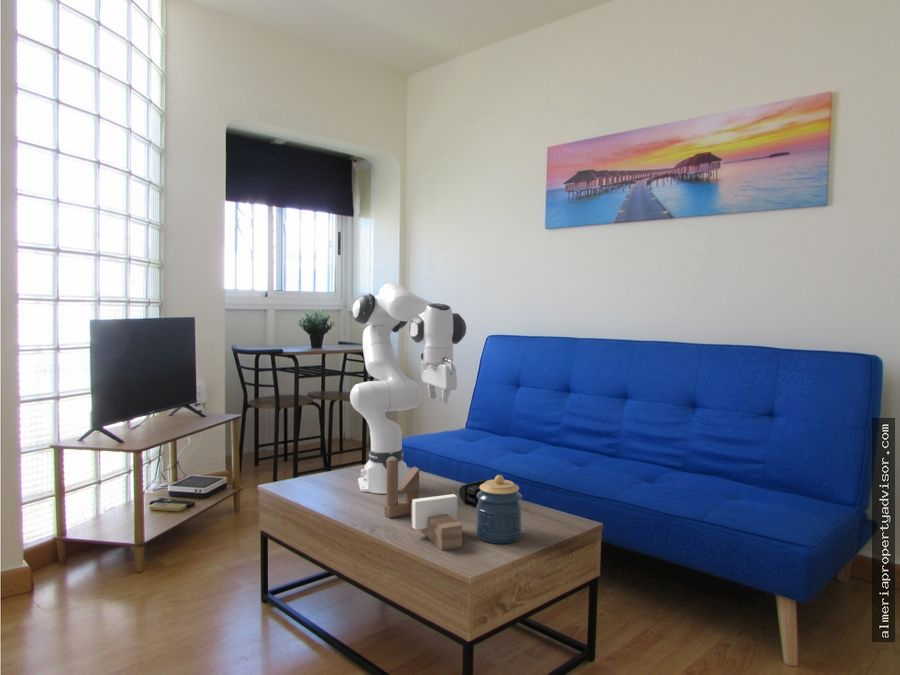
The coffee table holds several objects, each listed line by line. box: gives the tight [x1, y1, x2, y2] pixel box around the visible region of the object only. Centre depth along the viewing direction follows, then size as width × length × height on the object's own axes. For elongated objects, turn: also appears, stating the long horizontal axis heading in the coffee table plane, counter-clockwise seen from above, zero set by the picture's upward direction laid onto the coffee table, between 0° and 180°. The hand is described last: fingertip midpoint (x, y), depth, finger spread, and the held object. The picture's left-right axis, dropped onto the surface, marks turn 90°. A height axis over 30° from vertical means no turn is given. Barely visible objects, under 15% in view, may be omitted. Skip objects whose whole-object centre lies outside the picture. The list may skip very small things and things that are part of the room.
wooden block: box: [384, 458, 420, 519], centre depth 195 cm, size 4×11×18 cm, turn 123°
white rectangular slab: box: [411, 493, 458, 531], centre depth 179 cm, size 13×2×8 cm, turn 114°
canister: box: [475, 474, 523, 545], centre depth 177 cm, size 13×13×18 cm
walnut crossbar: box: [410, 502, 463, 551], centre depth 179 cm, size 24×6×6 cm, turn 24°
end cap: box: [458, 479, 488, 509], centre depth 208 cm, size 10×7×7 cm
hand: (438, 400), depth 192 cm, fingers open, 8 cm apart
